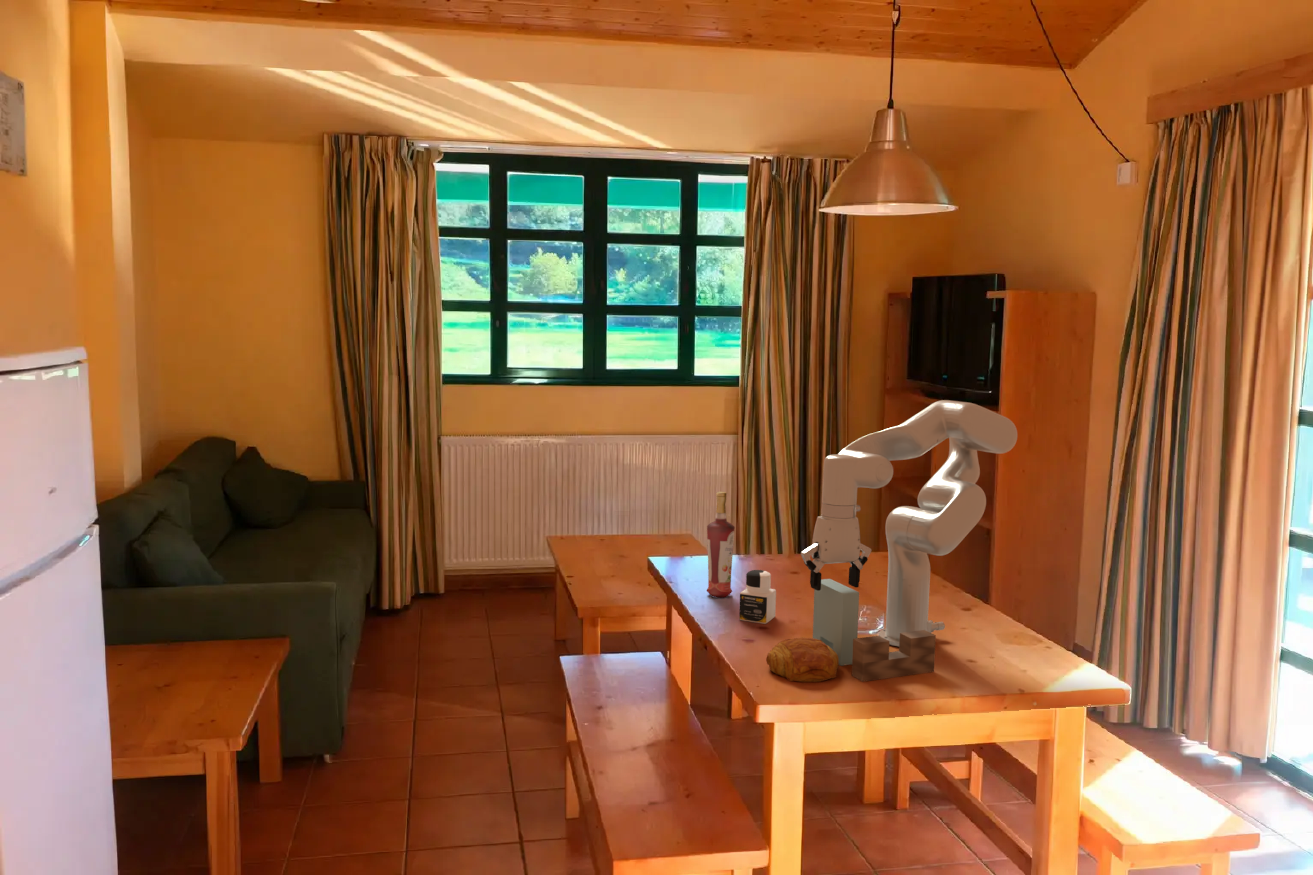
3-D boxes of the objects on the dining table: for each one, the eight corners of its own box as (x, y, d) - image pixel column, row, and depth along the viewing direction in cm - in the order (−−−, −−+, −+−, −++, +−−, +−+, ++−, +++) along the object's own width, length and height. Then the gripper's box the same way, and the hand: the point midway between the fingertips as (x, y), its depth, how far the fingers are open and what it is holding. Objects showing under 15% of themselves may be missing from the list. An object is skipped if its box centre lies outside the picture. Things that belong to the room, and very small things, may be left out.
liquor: (725, 600, 278) (727, 496, 274) (700, 596, 281) (702, 493, 278) (737, 594, 284) (740, 491, 281) (713, 590, 288) (715, 489, 284)
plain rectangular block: (812, 648, 240) (814, 580, 238) (827, 646, 241) (829, 578, 239) (840, 665, 229) (843, 593, 227) (856, 663, 230) (859, 592, 228)
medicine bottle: (738, 620, 261) (739, 572, 259) (748, 612, 267) (750, 566, 266) (766, 624, 258) (767, 576, 256) (775, 616, 264) (777, 570, 263)
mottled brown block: (922, 665, 230) (924, 629, 229) (933, 671, 226) (935, 635, 225) (851, 675, 223) (853, 638, 222) (862, 681, 219) (863, 644, 218)
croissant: (764, 670, 232) (760, 635, 231) (833, 660, 232) (829, 625, 232) (775, 693, 217) (771, 656, 216) (850, 682, 218) (845, 645, 217)
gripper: (862, 506, 238) (858, 580, 240) (795, 509, 231) (791, 585, 233) (881, 512, 231) (877, 589, 233) (813, 516, 224) (809, 594, 226)
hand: (834, 587), depth 233 cm, fingers open, 9 cm apart
